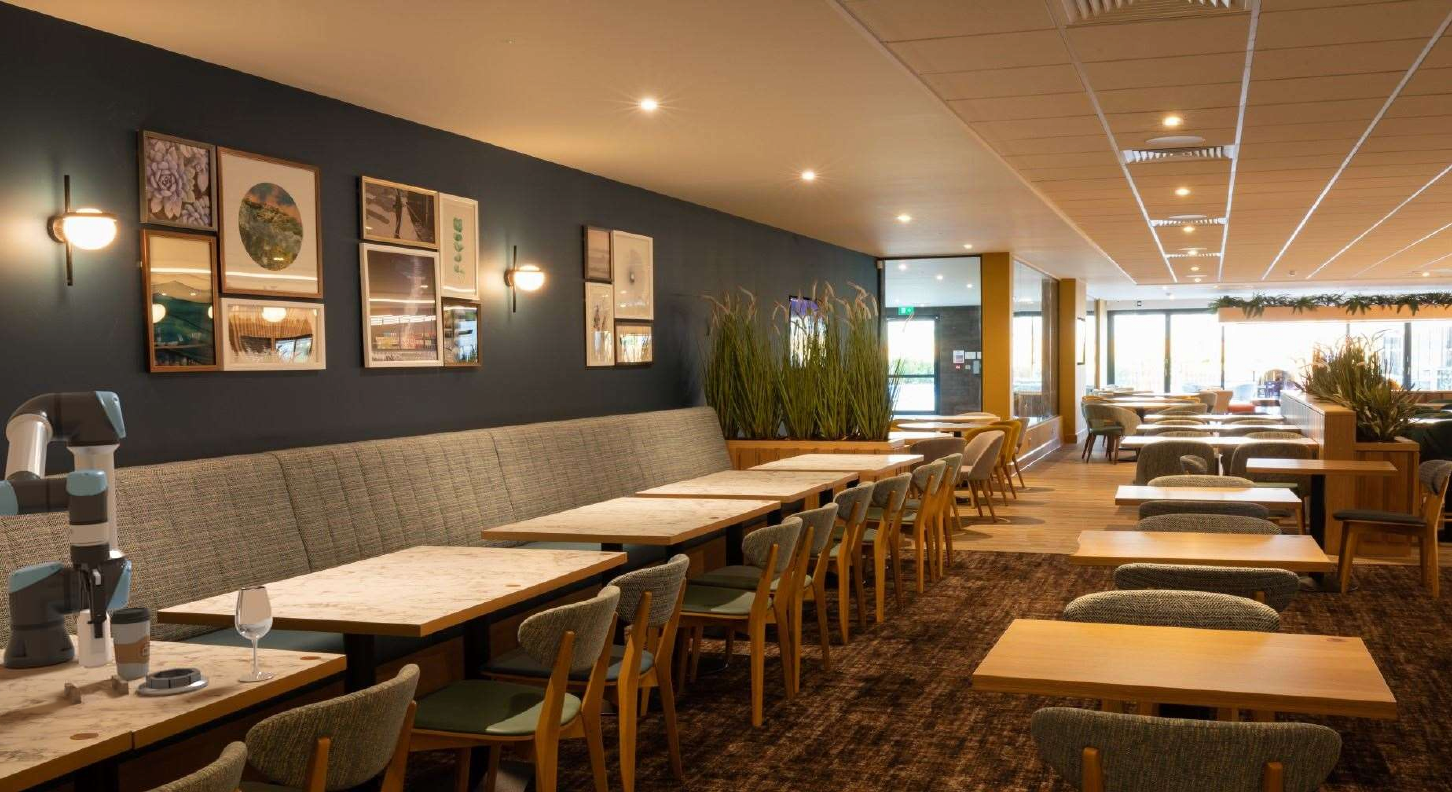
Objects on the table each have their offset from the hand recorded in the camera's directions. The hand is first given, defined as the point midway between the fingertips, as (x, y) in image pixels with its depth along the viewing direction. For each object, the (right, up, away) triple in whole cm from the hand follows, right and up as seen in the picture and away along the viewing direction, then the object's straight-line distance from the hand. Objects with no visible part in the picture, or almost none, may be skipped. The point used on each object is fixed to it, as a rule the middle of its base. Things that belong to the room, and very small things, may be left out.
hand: (94, 649), depth 263 cm
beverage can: (0, -4, 0) cm, 4 cm away
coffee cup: (+1, -9, +15) cm, 18 cm away
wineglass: (+31, -8, +10) cm, 33 cm away
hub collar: (+15, -9, +4) cm, 18 cm away
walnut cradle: (+1, -10, 0) cm, 10 cm away
